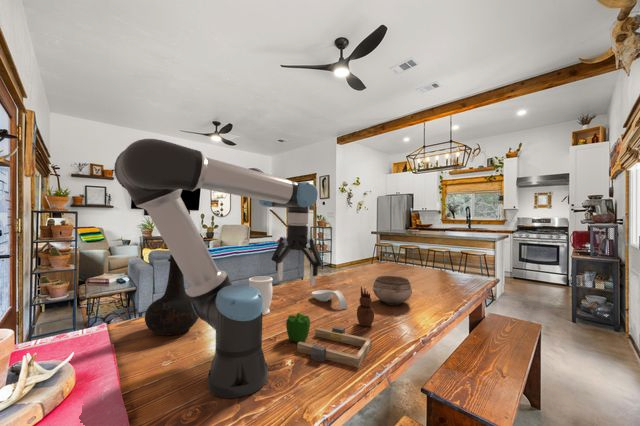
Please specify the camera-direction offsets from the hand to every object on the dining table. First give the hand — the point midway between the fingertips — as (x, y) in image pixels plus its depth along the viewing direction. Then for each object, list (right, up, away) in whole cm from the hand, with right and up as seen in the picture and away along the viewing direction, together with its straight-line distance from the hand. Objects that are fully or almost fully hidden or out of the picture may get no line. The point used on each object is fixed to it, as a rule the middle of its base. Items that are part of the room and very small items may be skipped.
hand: (295, 282), depth 101 cm
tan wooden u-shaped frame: (+14, -19, -12) cm, 26 cm away
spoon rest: (+14, -19, +35) cm, 43 cm away
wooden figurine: (+27, -19, +8) cm, 34 cm away
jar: (-17, -18, +20) cm, 32 cm away
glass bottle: (-45, -18, 0) cm, 48 cm away
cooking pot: (+45, -20, +36) cm, 61 cm away
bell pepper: (+1, -19, -6) cm, 20 cm away
